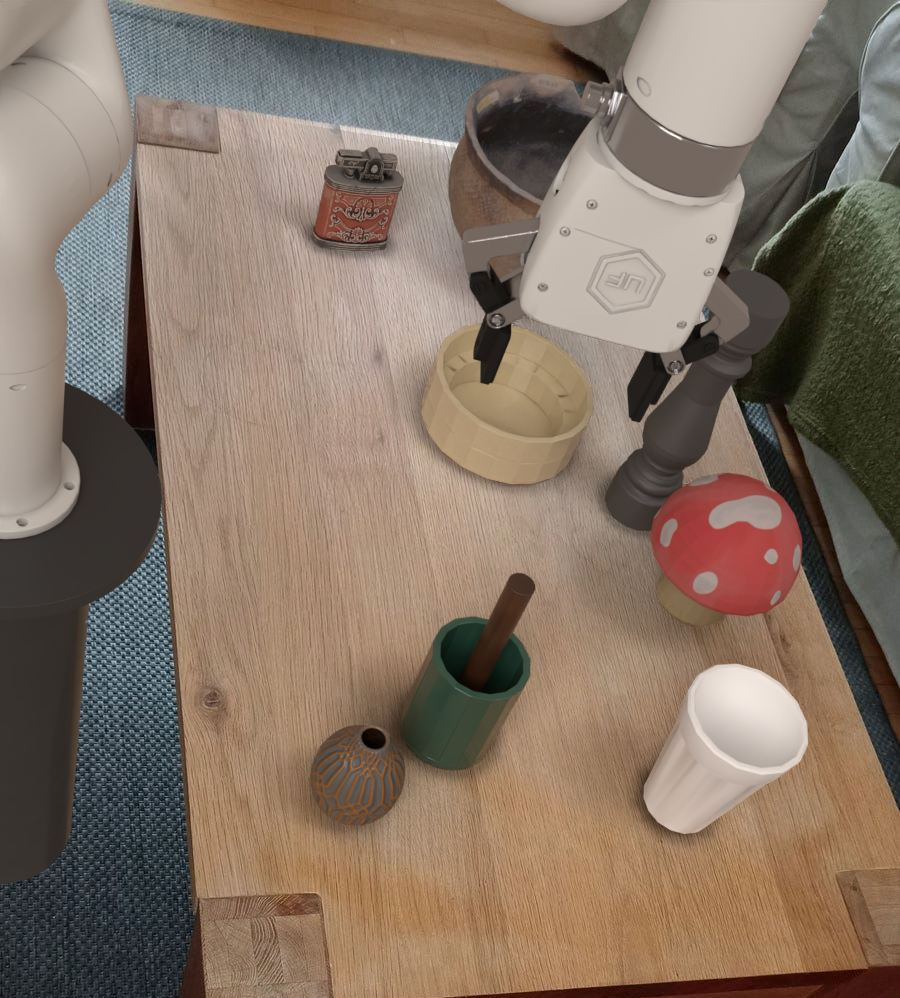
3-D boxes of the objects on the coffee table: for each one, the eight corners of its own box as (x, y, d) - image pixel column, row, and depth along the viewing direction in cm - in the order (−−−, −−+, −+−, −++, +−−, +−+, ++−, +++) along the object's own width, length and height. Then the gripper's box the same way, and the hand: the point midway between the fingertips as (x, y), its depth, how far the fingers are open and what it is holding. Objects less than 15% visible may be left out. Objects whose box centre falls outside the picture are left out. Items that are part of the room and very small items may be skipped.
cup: (690, 879, 105) (768, 798, 94) (597, 796, 106) (663, 707, 96) (752, 809, 110) (832, 725, 100) (662, 731, 112) (732, 640, 101)
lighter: (381, 231, 135) (405, 143, 127) (390, 253, 134) (415, 166, 126) (306, 227, 132) (326, 137, 124) (315, 250, 131) (335, 160, 123)
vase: (284, 803, 98) (306, 740, 91) (335, 745, 102) (360, 680, 95) (359, 856, 97) (388, 797, 90) (408, 795, 101) (438, 734, 94)
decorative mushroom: (641, 675, 114) (718, 565, 102) (594, 556, 120) (661, 438, 108) (769, 667, 119) (857, 561, 107) (718, 553, 125) (796, 439, 113)
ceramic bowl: (650, 275, 145) (710, 153, 133) (574, 375, 133) (633, 250, 120) (480, 174, 145) (524, 42, 133) (388, 263, 133) (427, 128, 121)
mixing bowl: (416, 467, 120) (434, 419, 115) (422, 355, 128) (439, 306, 123) (572, 503, 123) (596, 458, 118) (569, 392, 131) (591, 346, 126)
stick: (437, 733, 104) (508, 592, 89) (438, 713, 105) (508, 569, 90) (461, 738, 105) (535, 597, 90) (461, 717, 106) (535, 575, 91)
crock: (397, 761, 103) (431, 689, 94) (402, 683, 107) (435, 607, 98) (489, 777, 104) (530, 708, 96) (490, 700, 108) (530, 627, 100)
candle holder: (677, 515, 126) (807, 306, 106) (637, 540, 123) (764, 330, 102) (632, 473, 127) (752, 258, 107) (592, 496, 124) (708, 280, 104)
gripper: (515, 128, 63) (422, 396, 77) (838, 224, 66) (693, 463, 81) (515, 42, 67) (427, 312, 81) (820, 138, 70) (684, 380, 84)
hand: (560, 387), depth 81 cm, fingers open, 9 cm apart
